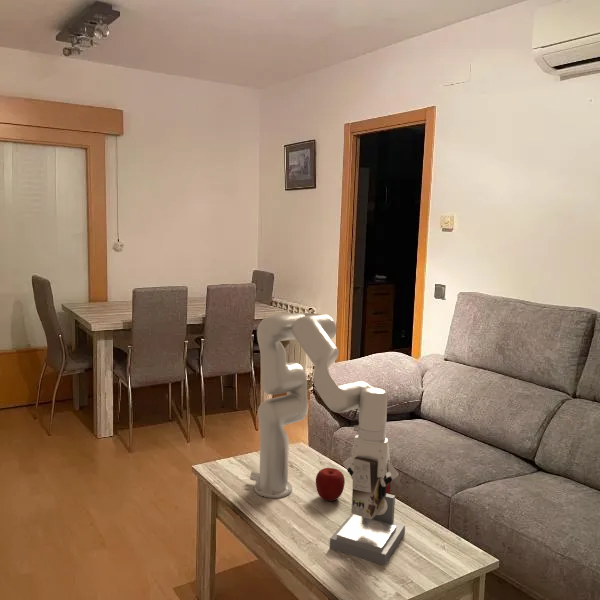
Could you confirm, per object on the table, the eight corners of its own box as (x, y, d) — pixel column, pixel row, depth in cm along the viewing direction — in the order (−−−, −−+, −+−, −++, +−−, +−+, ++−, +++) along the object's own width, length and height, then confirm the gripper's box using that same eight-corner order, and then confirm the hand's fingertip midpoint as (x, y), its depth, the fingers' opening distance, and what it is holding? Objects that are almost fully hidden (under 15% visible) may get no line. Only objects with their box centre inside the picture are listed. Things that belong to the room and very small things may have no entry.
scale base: (329, 548, 159) (331, 510, 158) (353, 520, 175) (355, 485, 174) (384, 565, 152) (387, 526, 151) (404, 534, 168) (406, 498, 167)
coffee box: (371, 520, 155) (374, 463, 153) (350, 513, 159) (353, 457, 157) (385, 507, 163) (388, 452, 161) (364, 501, 166) (367, 447, 164)
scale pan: (336, 538, 159) (336, 534, 159) (353, 517, 171) (353, 514, 170) (381, 551, 153) (381, 547, 153) (396, 529, 165) (396, 525, 165)
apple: (337, 490, 194) (338, 462, 193) (348, 503, 185) (350, 474, 184) (311, 493, 191) (312, 465, 190) (321, 507, 182) (322, 477, 181)
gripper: (337, 431, 159) (335, 493, 161) (398, 443, 151) (394, 508, 153) (347, 423, 165) (345, 482, 168) (406, 435, 158) (403, 496, 160)
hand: (369, 494), depth 160 cm, fingers closed on coffee box, 6 cm apart
